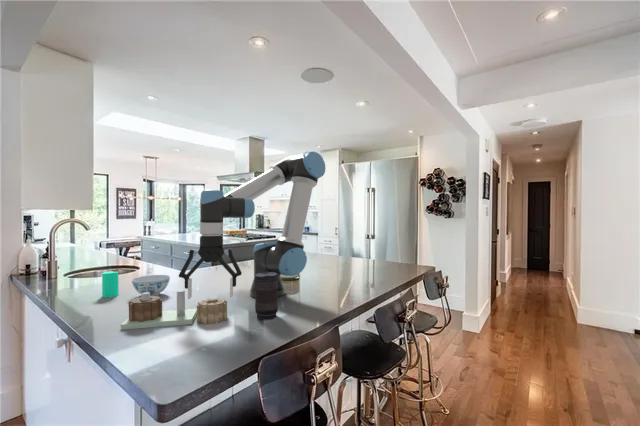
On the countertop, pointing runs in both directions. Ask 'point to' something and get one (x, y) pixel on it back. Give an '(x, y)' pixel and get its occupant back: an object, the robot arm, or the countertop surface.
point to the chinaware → (151, 284)
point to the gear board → (165, 315)
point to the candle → (109, 284)
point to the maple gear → (212, 310)
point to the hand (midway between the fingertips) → (210, 297)
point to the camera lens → (266, 295)
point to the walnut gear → (145, 309)
